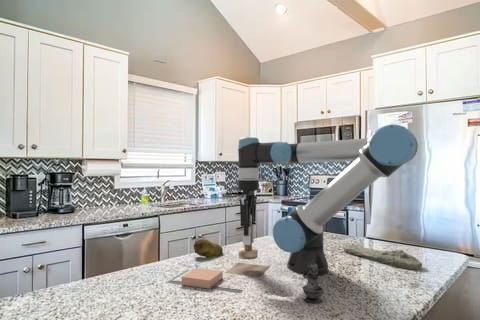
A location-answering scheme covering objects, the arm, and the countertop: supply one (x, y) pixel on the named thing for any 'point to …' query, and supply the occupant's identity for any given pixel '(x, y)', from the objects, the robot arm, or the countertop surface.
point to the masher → (248, 248)
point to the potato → (207, 248)
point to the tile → (202, 278)
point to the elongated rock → (385, 256)
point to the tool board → (248, 269)
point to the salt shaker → (312, 285)
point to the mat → (210, 288)
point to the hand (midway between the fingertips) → (248, 243)
